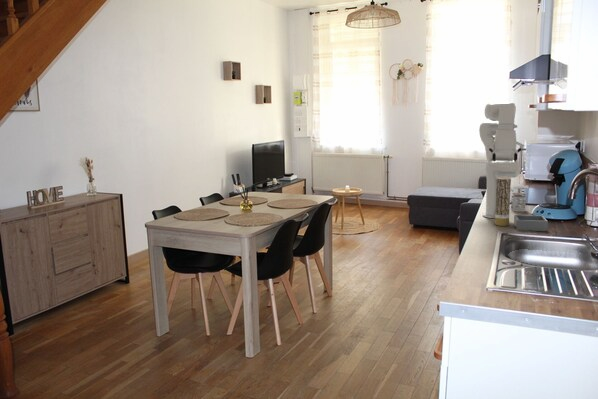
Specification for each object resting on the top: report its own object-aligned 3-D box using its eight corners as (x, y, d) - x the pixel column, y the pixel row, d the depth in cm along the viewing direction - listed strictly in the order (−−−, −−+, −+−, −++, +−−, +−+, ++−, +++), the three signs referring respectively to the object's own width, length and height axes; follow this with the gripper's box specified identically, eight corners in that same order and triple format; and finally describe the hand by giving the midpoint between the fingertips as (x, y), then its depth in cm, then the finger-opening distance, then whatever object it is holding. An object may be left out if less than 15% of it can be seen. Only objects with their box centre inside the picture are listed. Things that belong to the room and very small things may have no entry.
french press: (530, 211, 290) (532, 168, 285) (510, 211, 290) (512, 169, 286) (522, 208, 299) (524, 167, 295) (503, 208, 300) (505, 167, 295)
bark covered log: (510, 226, 252) (512, 178, 248) (496, 226, 253) (498, 178, 249) (507, 223, 258) (509, 176, 254) (493, 223, 260) (495, 176, 256)
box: (513, 224, 257) (514, 214, 256) (542, 225, 253) (543, 215, 252) (517, 230, 244) (517, 220, 244) (547, 231, 240) (547, 221, 239)
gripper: (523, 127, 248) (522, 160, 251) (487, 127, 254) (486, 160, 256) (525, 127, 241) (524, 162, 244) (488, 128, 246) (486, 162, 249)
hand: (504, 161), depth 250 cm, fingers open, 9 cm apart
